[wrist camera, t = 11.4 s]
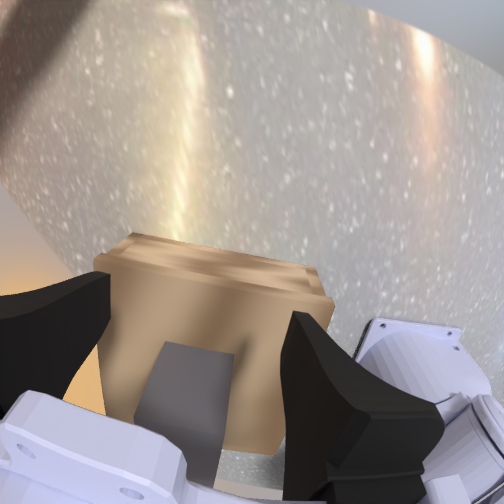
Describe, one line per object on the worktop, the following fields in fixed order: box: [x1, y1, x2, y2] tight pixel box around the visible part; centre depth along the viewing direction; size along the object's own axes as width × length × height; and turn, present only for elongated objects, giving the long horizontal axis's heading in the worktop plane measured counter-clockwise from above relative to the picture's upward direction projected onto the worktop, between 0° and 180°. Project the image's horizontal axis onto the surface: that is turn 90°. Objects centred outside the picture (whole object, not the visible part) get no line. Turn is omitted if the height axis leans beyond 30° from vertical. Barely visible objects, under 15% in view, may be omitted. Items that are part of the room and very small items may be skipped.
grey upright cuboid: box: [133, 341, 235, 488], centre depth 16 cm, size 4×6×6 cm, turn 170°
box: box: [107, 233, 326, 297], centre depth 22 cm, size 13×13×5 cm
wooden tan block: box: [94, 253, 335, 456], centre depth 19 cm, size 13×14×1 cm
